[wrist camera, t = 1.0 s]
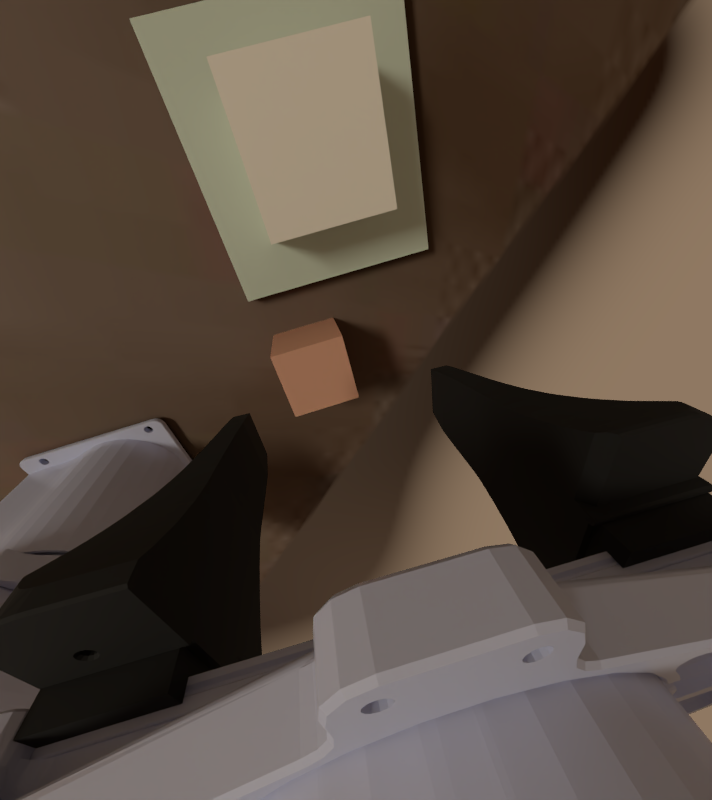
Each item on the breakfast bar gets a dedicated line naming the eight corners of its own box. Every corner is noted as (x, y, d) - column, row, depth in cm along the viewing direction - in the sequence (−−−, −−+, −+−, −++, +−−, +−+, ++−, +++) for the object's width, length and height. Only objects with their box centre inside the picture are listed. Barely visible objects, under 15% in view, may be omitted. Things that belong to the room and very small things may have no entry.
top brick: (294, 387, 22) (295, 416, 18) (273, 334, 19) (270, 357, 16) (347, 370, 22) (358, 397, 18) (332, 317, 20) (342, 335, 16)
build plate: (249, 298, 18) (248, 301, 17) (138, 30, 12) (129, 18, 12) (423, 248, 19) (428, 249, 18) (393, -33, 13) (399, -47, 12)
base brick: (274, 242, 16) (271, 244, 14) (222, 90, 13) (206, 56, 10) (380, 211, 16) (397, 208, 14) (354, 56, 13) (370, 15, 11)
